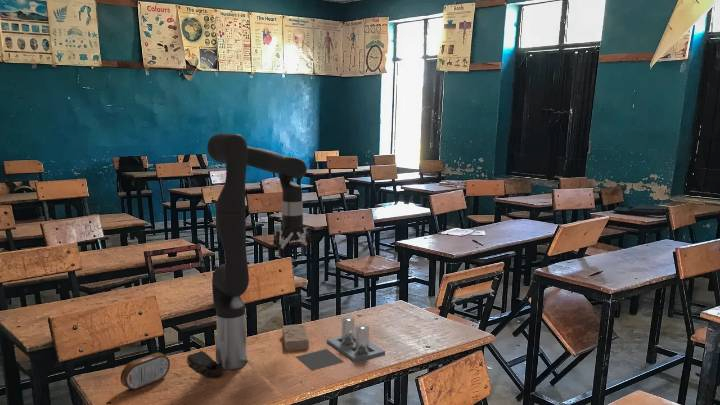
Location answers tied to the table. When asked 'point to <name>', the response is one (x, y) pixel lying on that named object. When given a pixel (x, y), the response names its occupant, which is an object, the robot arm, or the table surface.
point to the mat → (319, 359)
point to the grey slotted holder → (349, 349)
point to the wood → (204, 365)
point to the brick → (295, 337)
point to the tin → (145, 371)
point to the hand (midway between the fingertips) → (292, 256)
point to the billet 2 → (362, 339)
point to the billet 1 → (348, 331)
